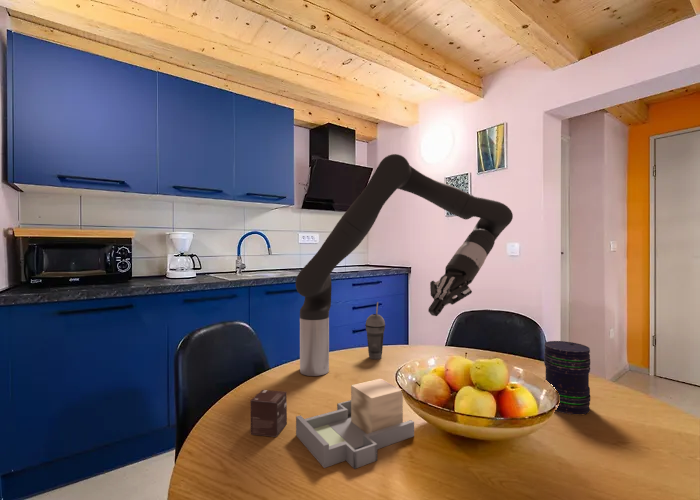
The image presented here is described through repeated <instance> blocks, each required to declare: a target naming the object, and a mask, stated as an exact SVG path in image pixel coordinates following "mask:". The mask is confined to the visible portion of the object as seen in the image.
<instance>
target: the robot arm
mask: <svg viewBox="0 0 700 500" xmlns="http://www.w3.org/2000/svg"><path fill="white" fill-rule="evenodd" d="M396 190H402V191H404V192H407V193H410V194H414V195H415V196H418V197H419V198H420V197H421V198H422V199H424V200H427V201H428V202H430V203H432V204H433V205H435V206H437V207H438V208H441V209H442V210H444V211H446V212H448V213H450V214H453V215H454V216H456V217H458V218H459V219H460V218H461V219H462V220H469V219H472V218H473V217H475V218H478V221H477V223H476V224H475V226H474V228H473V230H472V231H471V232H470V233H469V234H468V236H467V237H466V238H465V240H464V241H463V243H462V244H461V246H459V248H458V249H457V250H456V251H455V252H454V255H452V257H451V259H449V262H448V263H447V265H446V266H445V273H444V274H443V275H442V276H441V277H440V278H439V280H438V281H434V280H431V281H430V285H429V286H430V288H429V289H430V296H431V298H432V299H433V301H432V302H431V304H430V305H429V307H428V313H429V314H430V315H431V316H433V317H437V316H439V315H440V314H441V312H442V311H443V309H444V308H445V307H446V306H448V305H449V304H450V305H455V304H457V303H458V302H459V301H461V300H463V299H464V298H466V297H468V296H469V295H471V294H473V291H472V289H471V287H469V285H470V284H472V282H473V281H474V279H475V278H476V276H477V275H478V273H479V271H480V270H481V269H482V268H483V266H484V264H485V261H486V259H487V257H488V255H489V254H490V252H491V251H492V250H493V248H494V246H495V241H496V240H497V239H498V237H499V236H500V235H501V233H502V232H504V230H505V229H506V228H507V227H508V226H509V225H510V224H511V222H512V220H513V219H514V218H513V215H514V214H513V212H512V210H511V209H510V207H508V206H507V204H504V203H502V202H500V201H497V200H494V199H493V200H492V199H489V198H484V197H478V196H474V195H473V194H471V193H468V192H466V191H464V190H462V189H460V188H457V187H455V186H453V185H451V184H448V183H445V182H442V181H440V180H437V179H433V178H432V177H429V176H427V175H425V174H423V173H422V172H420V171H418V170H417V169H415V168H414V167H413V166H412V165H410V163H409V161H408V159H407V158H406V157H405V156H403V155H401V154H400V153H392V154H389V155H386V156H385V157H384V158H383V159H382V160H381V161H380V162H379V164H378V166H377V167H376V169H375V170H374V173H373V175H372V176H371V177H370V179H369V181H368V183H367V185H365V188H364V189H363V190H362V192H361V193H360V194H359V195H358V196H357V198H356V199H355V200H353V202H352V204H351V205H350V206H349V208H348V209H347V210H346V211H345V212H344V213H343V215H342V216H341V218H340V219H339V221H338V222H337V223H336V224H335V226H334V227H333V229H332V231H331V232H330V233H329V234H328V236H327V237H326V239H325V240H324V242H323V243H322V245H321V246H320V248H319V249H318V251H317V252H316V253H315V254H314V256H312V258H311V259H310V260H309V261H308V262H307V264H305V265H304V266H303V268H302V269H301V270H300V271H299V272H298V273H297V276H296V279H295V289H296V291H297V293H298V294H299V295H300V296H302V297H304V301H303V304H302V306H301V307H300V310H299V373H300V374H301V375H303V376H306V377H307V376H308V377H309V376H310V377H318V376H323V375H326V374H328V373H329V372H330V309H331V306H332V289H333V288H332V277H331V274H332V272H333V270H334V269H335V268H337V266H338V265H339V263H341V262H342V261H344V259H346V258H347V257H348V256H349V255H350V254H351V253H353V252H354V251H355V250H356V249H357V247H358V246H360V244H361V243H362V242H363V240H364V239H365V237H367V235H368V234H369V232H370V231H371V229H372V227H373V226H374V224H375V223H376V220H377V218H378V216H379V214H380V212H381V211H382V208H383V206H384V205H385V203H386V202H387V201H388V200H389V199H390V197H392V195H393V194H394V193H395V192H396Z"/></svg>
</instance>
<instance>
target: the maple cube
mask: <svg viewBox="0 0 700 500" xmlns="http://www.w3.org/2000/svg"><path fill="white" fill-rule="evenodd" d="M401 390H403V389H401V388H400V387H397V386H395V385H394V384H392V383H390V382H388V381H386V380H384V379H382V378H376V379H373V380H369V381H364V382H360V383H356V384H355V383H354V384H351V387H350V393H351V394H350V395H351V397H350V400H351V422H353V423H354V424H355V425H356V426H358V427H359V428H360V429H361V430H363V431H364V432H365V433H366V434H369V433H372V432H375V431H378V430H381V429H384V428H387V427H391V426H394V425H397V424H400V423H403V422H404V420H403V419H404V415H403V414H404V409H403V406H404V405H403V403H404V402H403V401H404V398H403V397H404V395H403V394H404V393H402V391H401Z"/></svg>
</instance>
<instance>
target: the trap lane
mask: <svg viewBox="0 0 700 500" xmlns="http://www.w3.org/2000/svg"><path fill="white" fill-rule="evenodd" d="M336 406H337V407H336V409H337V410H334V411H333V410H332V411H329V412H326V413H321V414H319V415H315V416H311V417H306V418H304V417H303V416H302V415H296V416H295V436H296V437H297V439H298V440H299V441H300V442H301V443H302V444H303V446H305V448H306V449H307V450H308V451H309V453H311V455H312V456H313V457H314V458H315V459H316V460H317V462H318V463H319V464H320V466H321V467H323V469H326V468H329V467H331V466H334V465H336V464H340V463H342V462H345V461H346V462H347V463H348V464H349V465H350V467H352V468H353V469H354V470H356V469H358V468H361V467H363V466H367V465H368V464H369V465H370V464H371V463H374V462H376V461H378V450H379V449H382V448H386V447H388V446H390V445H393V444H396V443H400V442H402V441H404V440H407V439H411V438H413V437H415V421H413V419H412V420H411V419H410V420H407V421H403V423H400V424H397V425H394V426H391V427H387V428H384V429H381V430H378V431H375V432H372V433H369V434H366V433H365V432H364V431H363V430H361V429H360V428H359V427H358V426H356V425H355V424H354V423H353V422H351V399H350V400H346V401H342V402H339V403H336Z"/></svg>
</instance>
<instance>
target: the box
mask: <svg viewBox="0 0 700 500" xmlns="http://www.w3.org/2000/svg"><path fill="white" fill-rule="evenodd" d="M287 411H288V406H287V391H283V390H282V391H281V390H270V389H269V390H267V389H266V390H265V389H264V390H261V391H260V392H258V393H257V394H256V395H255V396H254V397H252V398H251V400H250V435H253V436H265V437H273V438H276V437H278V436H279V434H280V433H282V431H283V430H284V428H285V427H286V425H287V424H288V418H287V417H288V416H287V415H288V413H287Z"/></svg>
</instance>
